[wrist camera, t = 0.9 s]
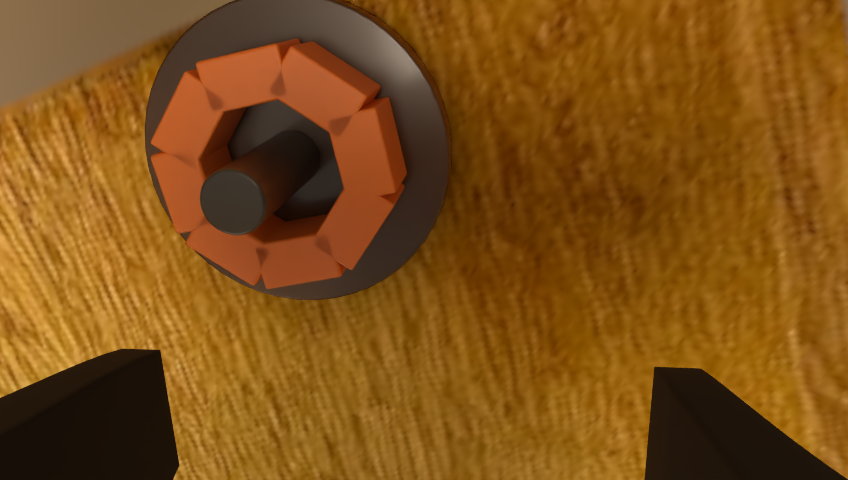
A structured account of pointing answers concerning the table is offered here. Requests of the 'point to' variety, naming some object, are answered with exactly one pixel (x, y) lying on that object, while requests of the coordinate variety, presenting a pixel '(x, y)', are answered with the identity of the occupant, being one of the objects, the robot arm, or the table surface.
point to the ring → (317, 101)
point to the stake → (313, 134)
